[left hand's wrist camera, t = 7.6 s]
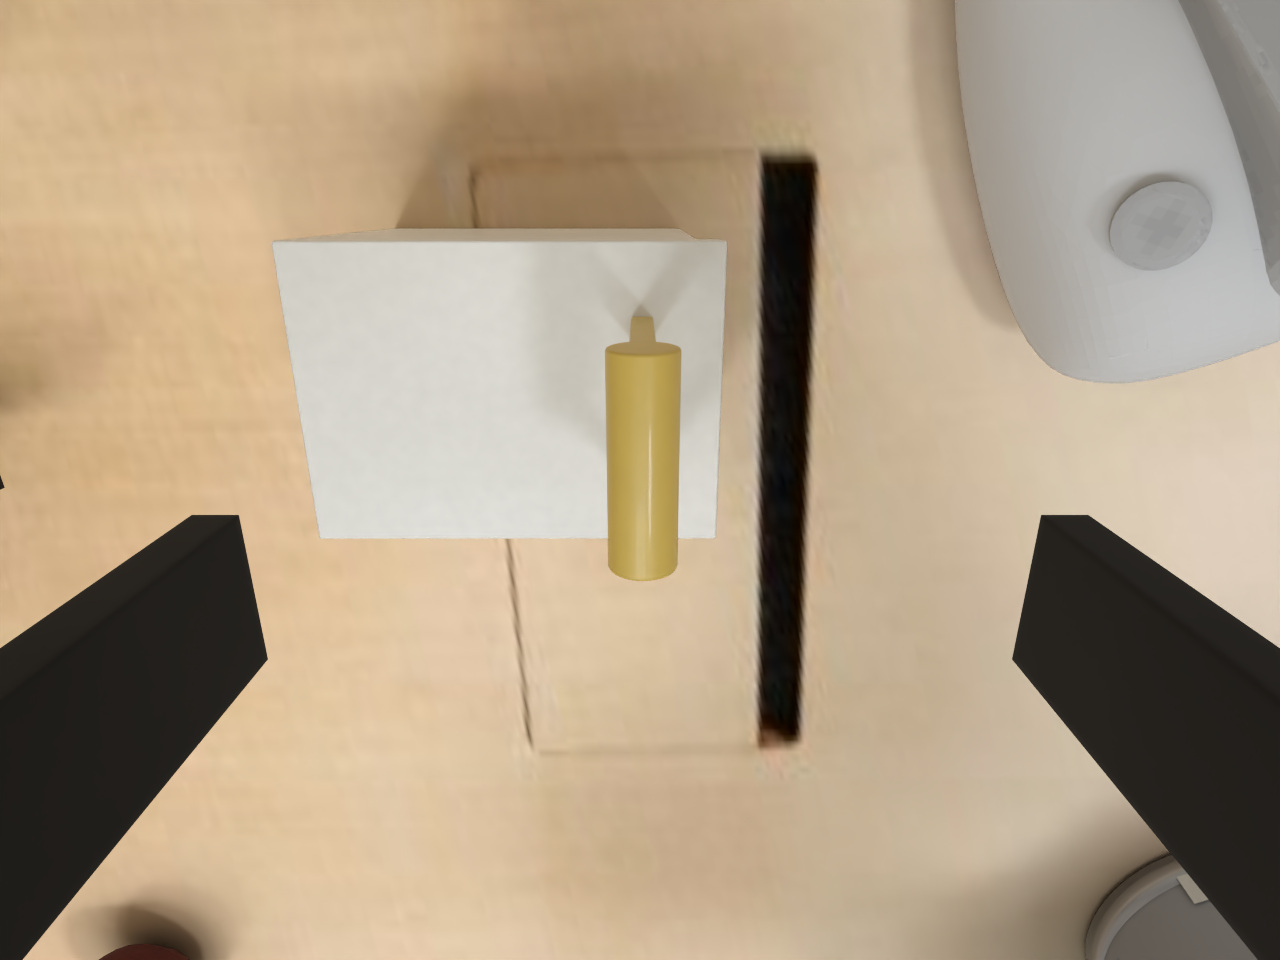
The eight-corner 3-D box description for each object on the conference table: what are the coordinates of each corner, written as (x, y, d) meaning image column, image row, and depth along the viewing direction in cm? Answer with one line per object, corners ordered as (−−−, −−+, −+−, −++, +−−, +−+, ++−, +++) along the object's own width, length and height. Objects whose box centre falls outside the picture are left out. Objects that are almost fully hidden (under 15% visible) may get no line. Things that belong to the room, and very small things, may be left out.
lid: (723, 239, 24) (765, 256, 16) (712, 524, 27) (742, 654, 19) (288, 239, 24) (116, 256, 16) (332, 525, 27) (209, 654, 19)
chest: (679, 228, 34) (697, 239, 24) (676, 436, 37) (690, 524, 27) (393, 228, 34) (288, 238, 24) (416, 436, 37) (333, 524, 27)
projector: (1528, -125, 29) (2311, -415, 16) (1213, 417, 37) (1553, 543, 23) (1014, -336, 27) (1397, -888, 13) (792, 286, 35) (892, 340, 21)
